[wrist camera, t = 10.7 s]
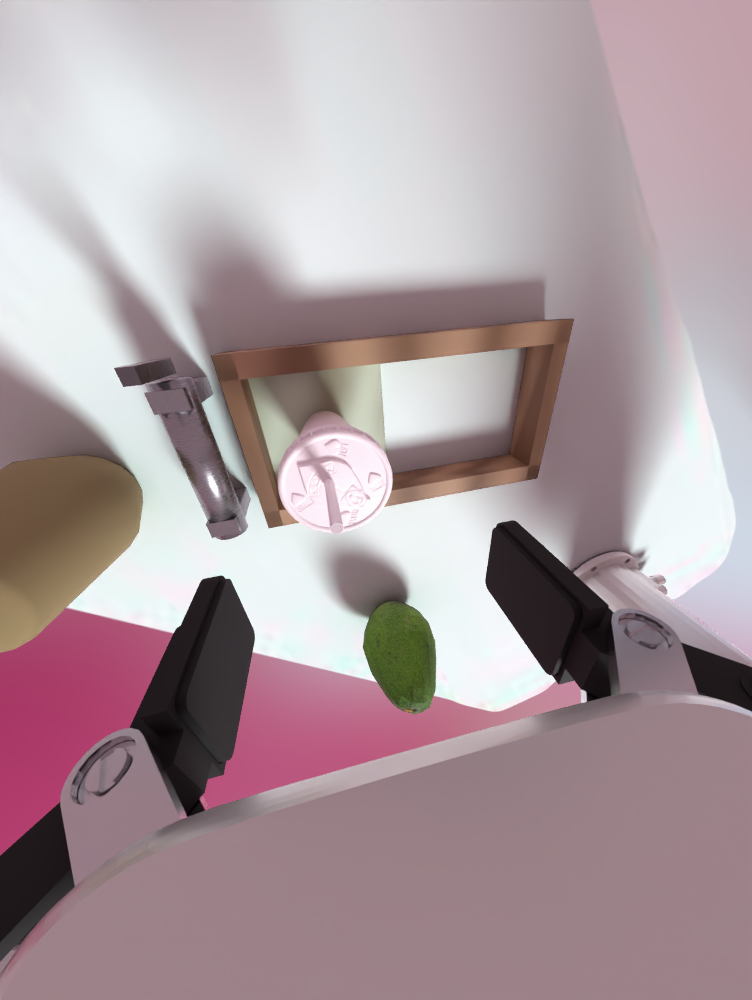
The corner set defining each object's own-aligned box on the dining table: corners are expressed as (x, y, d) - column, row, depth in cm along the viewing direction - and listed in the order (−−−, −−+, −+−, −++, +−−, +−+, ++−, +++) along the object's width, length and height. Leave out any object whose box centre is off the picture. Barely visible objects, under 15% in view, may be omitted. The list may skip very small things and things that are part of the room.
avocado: (372, 582, 34) (401, 687, 24) (427, 591, 37) (474, 688, 27) (348, 627, 38) (365, 737, 27) (401, 632, 40) (434, 733, 30)
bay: (545, 319, 24) (573, 318, 21) (517, 465, 30) (537, 478, 28) (222, 352, 20) (210, 355, 18) (271, 509, 27) (268, 528, 24)
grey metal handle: (201, 352, 20) (152, 363, 13) (254, 502, 26) (238, 561, 20) (164, 356, 20) (94, 370, 13) (226, 507, 26) (200, 568, 19)
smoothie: (313, 375, 22) (324, 430, 10) (379, 423, 25) (448, 509, 13) (271, 444, 24) (238, 559, 12) (337, 481, 27) (364, 603, 15)
